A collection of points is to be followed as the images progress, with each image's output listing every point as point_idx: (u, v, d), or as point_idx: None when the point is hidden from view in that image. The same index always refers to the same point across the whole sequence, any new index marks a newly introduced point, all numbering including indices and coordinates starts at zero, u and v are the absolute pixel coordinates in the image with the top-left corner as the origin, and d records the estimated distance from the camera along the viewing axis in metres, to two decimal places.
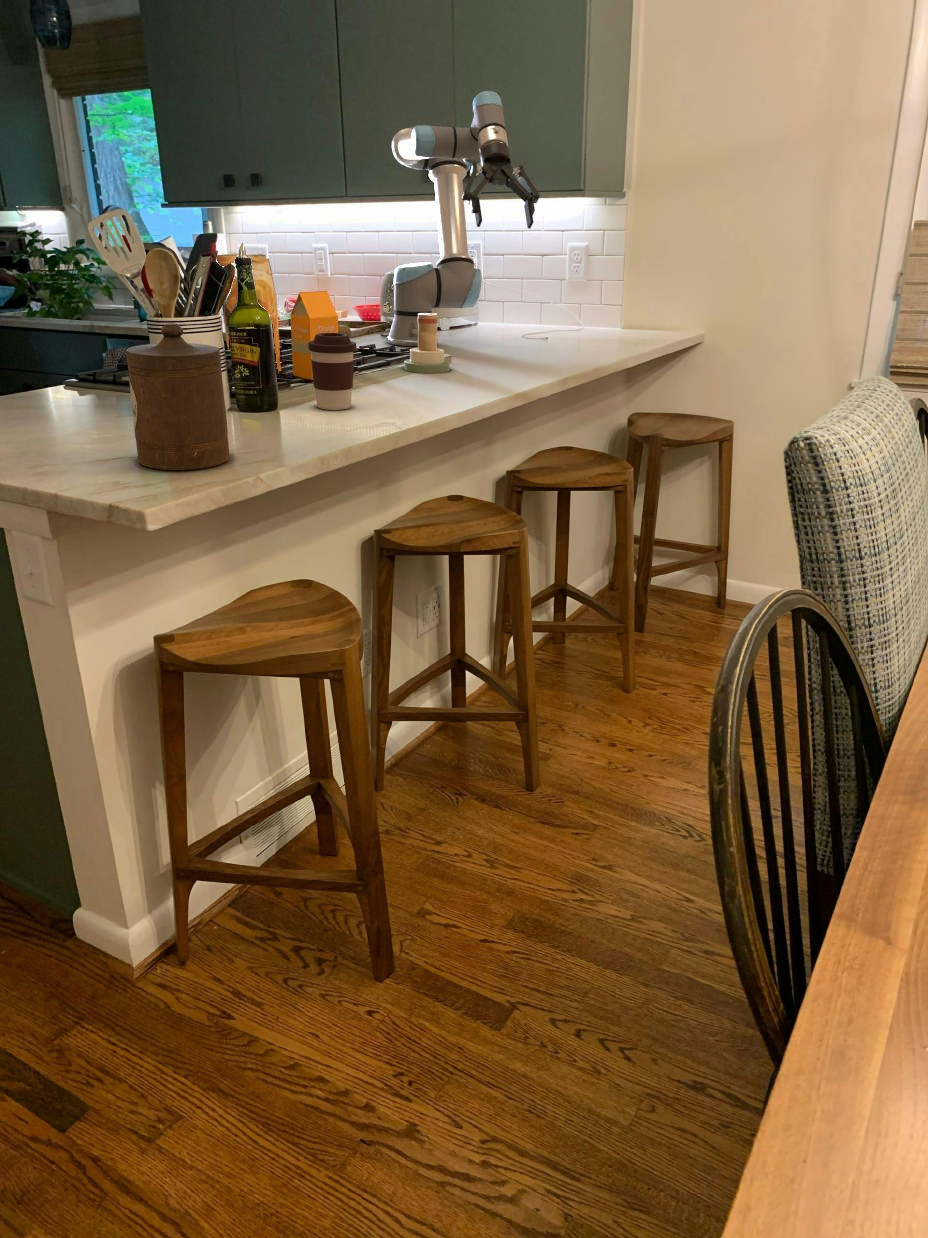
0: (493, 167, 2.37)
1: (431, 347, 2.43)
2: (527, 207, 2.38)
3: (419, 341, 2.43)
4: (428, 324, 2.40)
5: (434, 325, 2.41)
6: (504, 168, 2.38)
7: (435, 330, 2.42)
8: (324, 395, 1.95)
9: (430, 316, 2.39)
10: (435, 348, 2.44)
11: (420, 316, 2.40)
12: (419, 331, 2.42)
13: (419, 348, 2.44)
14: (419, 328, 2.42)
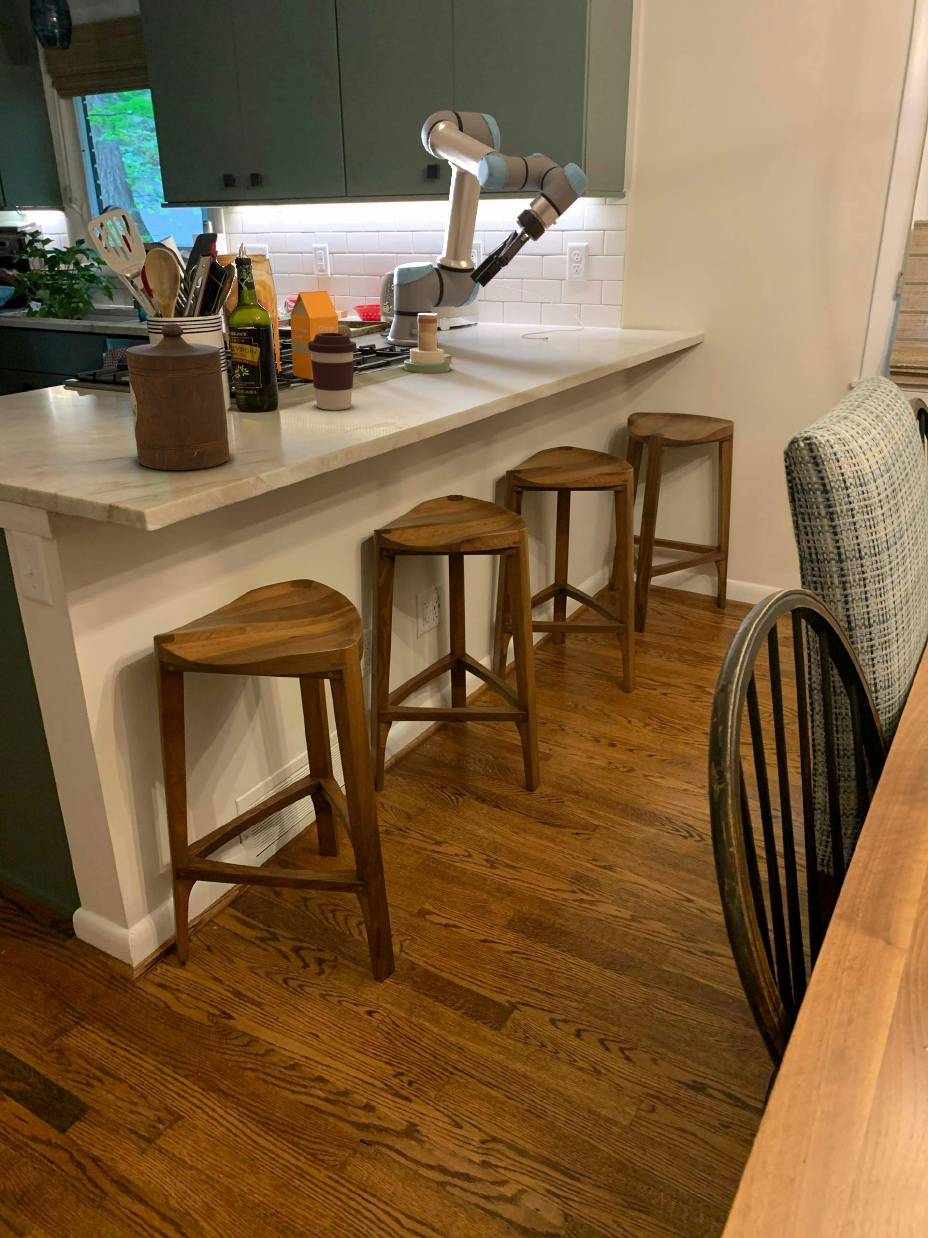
0: (523, 244, 2.36)
1: (431, 347, 2.43)
2: (487, 268, 2.45)
3: (419, 341, 2.43)
4: (428, 324, 2.40)
5: (434, 325, 2.41)
6: None
7: (435, 330, 2.42)
8: (324, 395, 1.95)
9: (430, 316, 2.39)
10: (435, 348, 2.44)
11: (420, 316, 2.40)
12: (419, 331, 2.42)
13: (419, 348, 2.44)
14: (419, 328, 2.42)
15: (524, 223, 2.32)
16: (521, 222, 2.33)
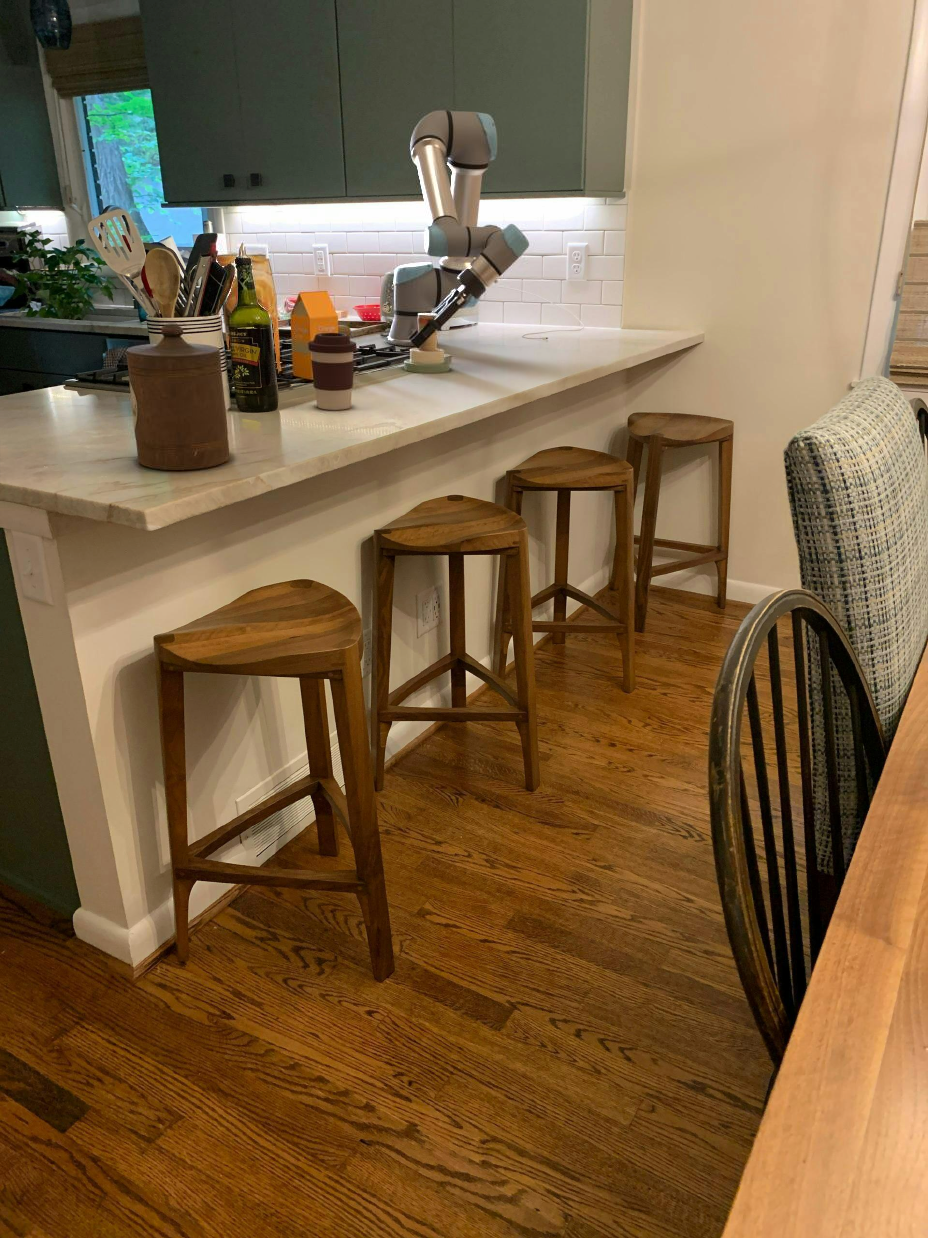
0: None
1: (431, 347, 2.43)
2: None
3: None
4: None
5: None
6: None
7: None
8: (324, 395, 1.95)
9: (430, 316, 2.39)
10: (435, 348, 2.44)
11: (420, 316, 2.40)
12: None
13: (419, 348, 2.44)
14: (419, 328, 2.42)
15: (465, 282, 2.36)
16: (462, 281, 2.37)
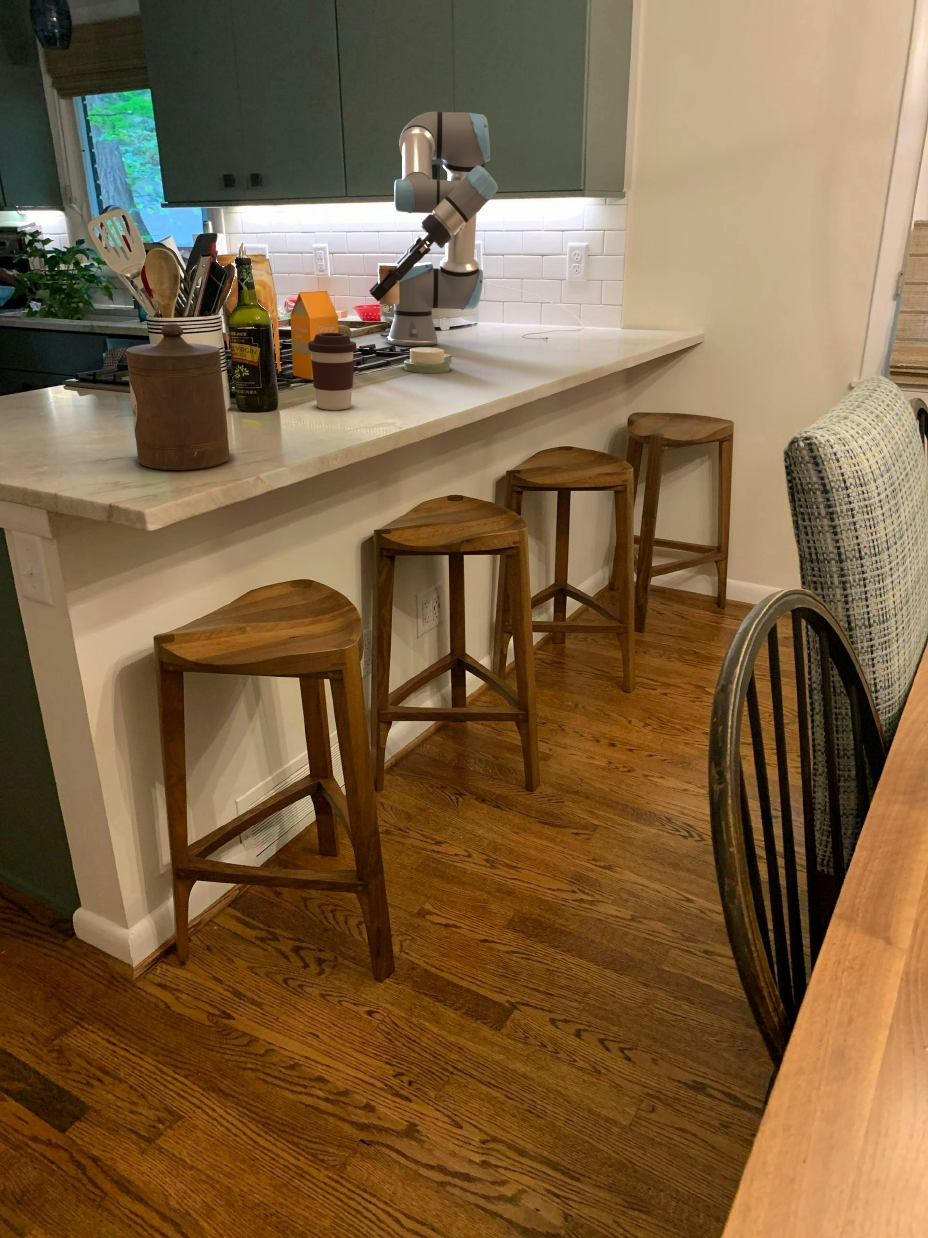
0: (428, 251, 2.22)
1: (393, 300, 2.25)
2: None
3: None
4: None
5: None
6: None
7: (397, 282, 2.24)
8: (324, 395, 1.95)
9: (391, 266, 2.22)
10: (397, 301, 2.26)
11: (380, 266, 2.22)
12: None
13: (380, 301, 2.26)
14: (380, 279, 2.24)
15: (428, 229, 2.19)
16: (425, 228, 2.19)
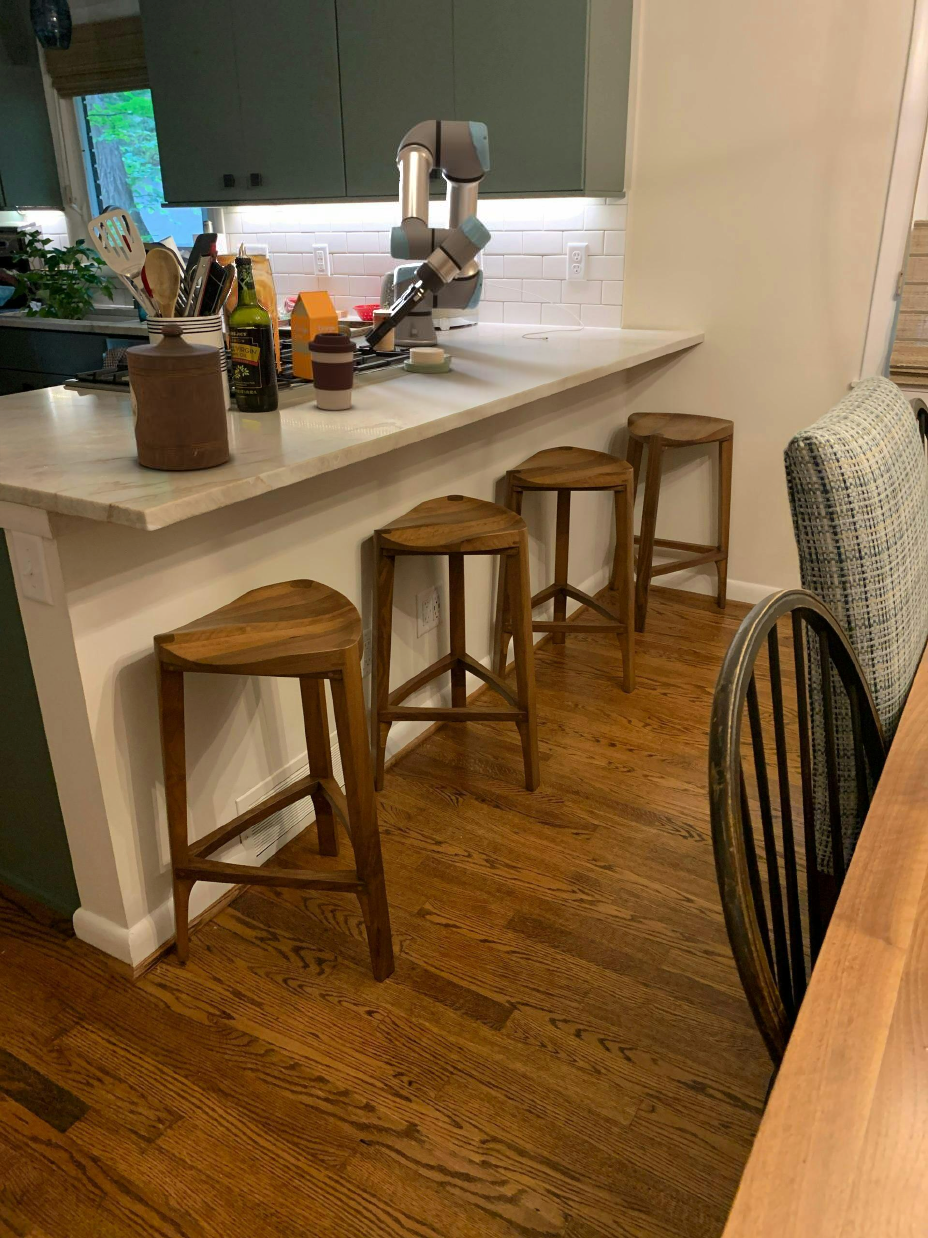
0: None
1: (388, 346, 2.28)
2: None
3: None
4: None
5: None
6: None
7: (392, 328, 2.27)
8: (324, 395, 1.95)
9: (385, 314, 2.24)
10: (392, 347, 2.29)
11: (375, 313, 2.25)
12: None
13: (375, 347, 2.29)
14: (374, 326, 2.27)
15: (422, 277, 2.21)
16: (419, 276, 2.22)
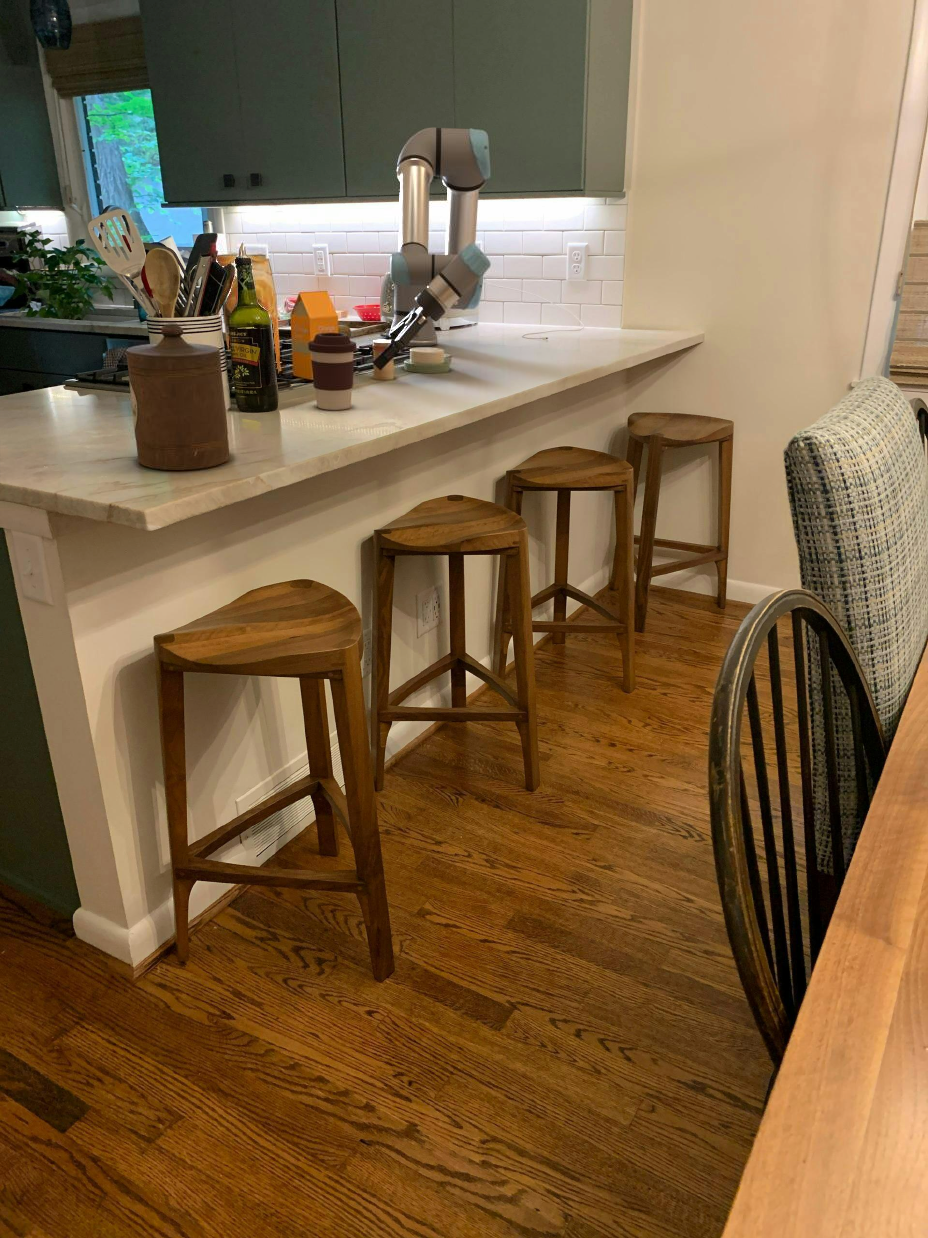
0: None
1: (388, 376, 2.31)
2: None
3: (375, 369, 2.31)
4: None
5: None
6: None
7: None
8: (324, 395, 1.95)
9: (385, 344, 2.27)
10: (392, 377, 2.32)
11: (375, 343, 2.28)
12: None
13: (375, 377, 2.31)
14: (375, 356, 2.29)
15: (422, 305, 2.24)
16: (419, 303, 2.24)
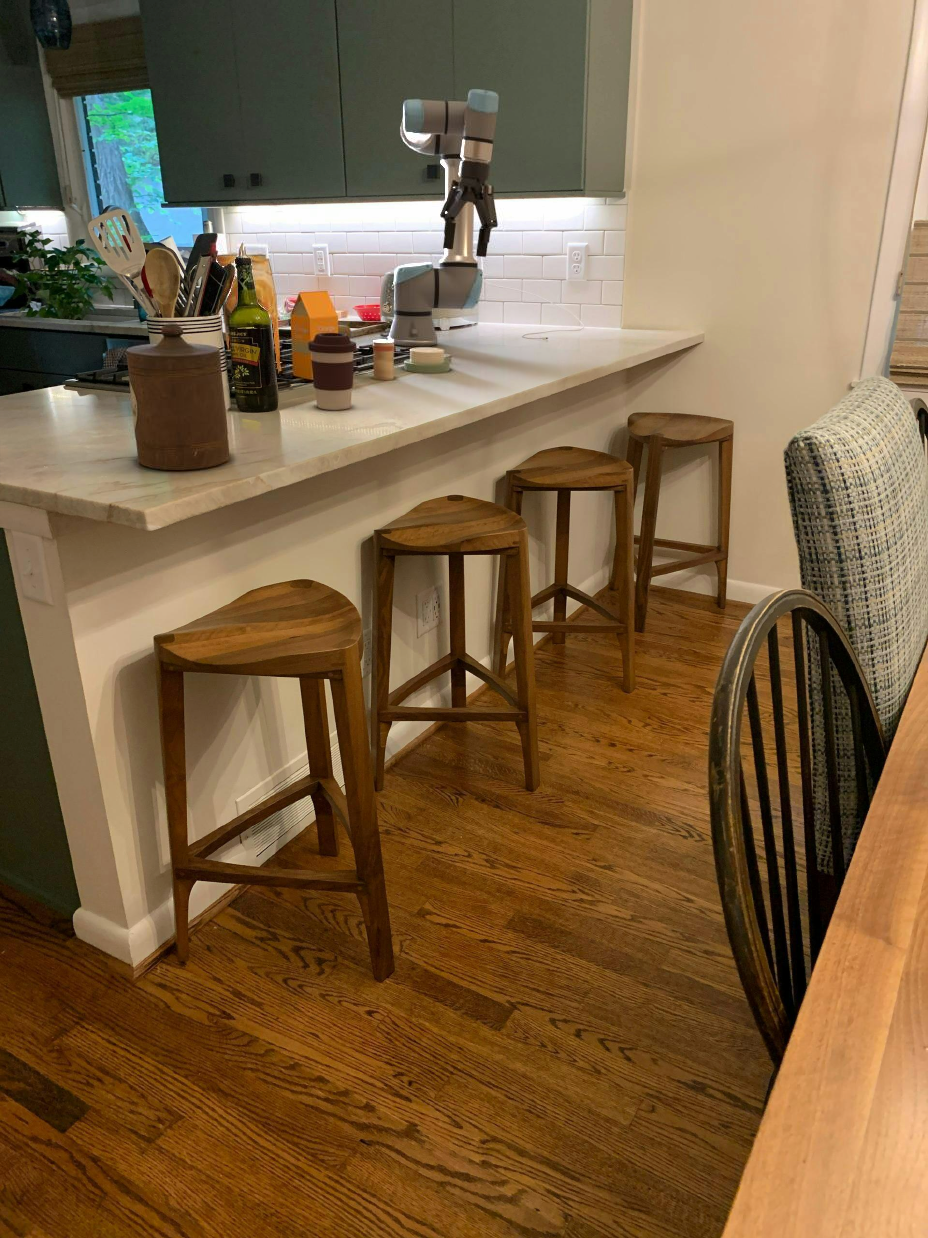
0: None
1: (388, 376, 2.31)
2: (452, 230, 2.42)
3: (375, 369, 2.31)
4: (384, 352, 2.28)
5: (390, 353, 2.29)
6: None
7: (391, 358, 2.30)
8: (324, 395, 1.95)
9: (385, 344, 2.27)
10: (392, 377, 2.32)
11: (375, 343, 2.28)
12: (375, 359, 2.30)
13: (375, 377, 2.31)
14: (375, 356, 2.29)
15: (476, 176, 2.28)
16: (473, 177, 2.29)
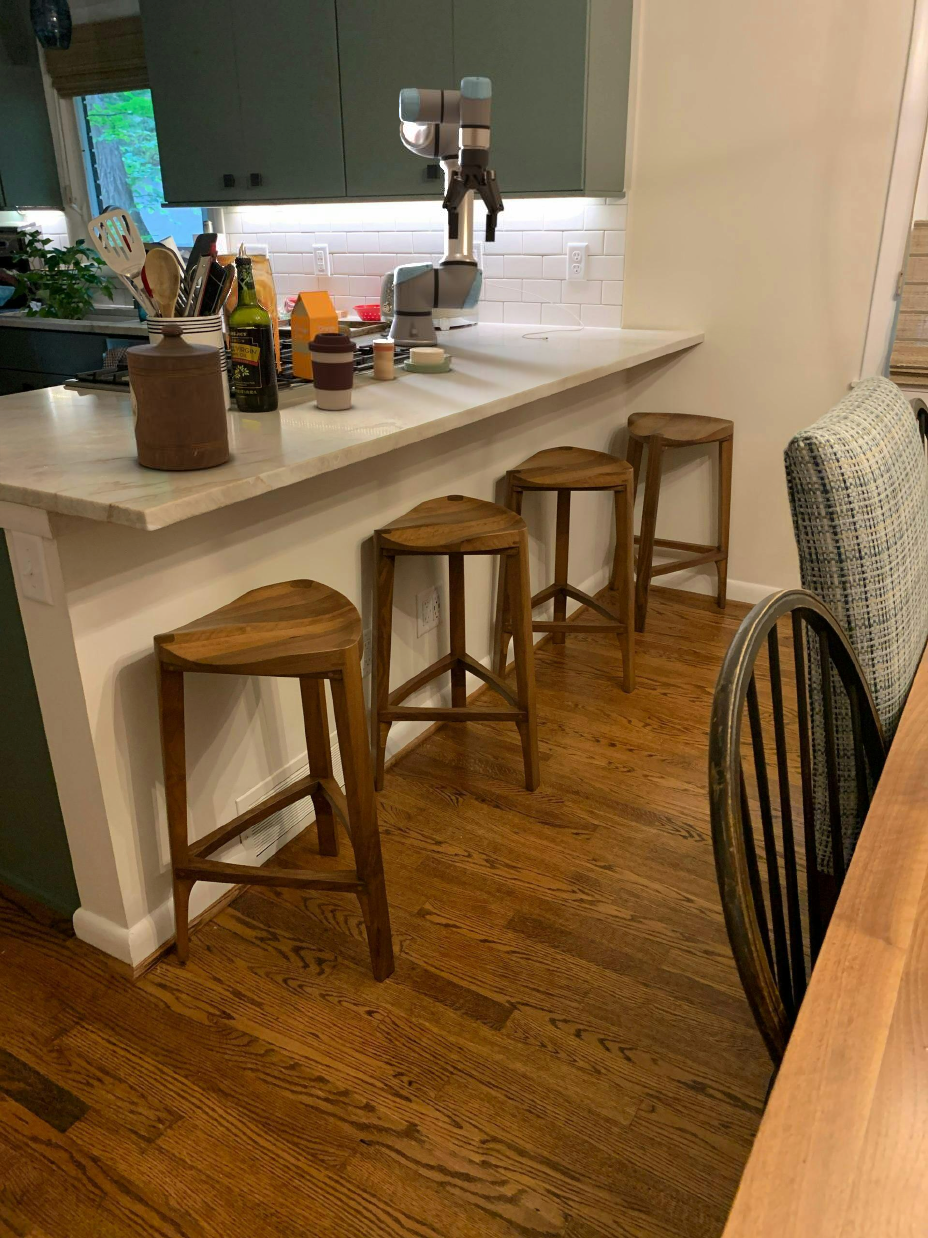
0: None
1: (388, 376, 2.31)
2: (456, 219, 2.44)
3: (375, 369, 2.31)
4: (384, 352, 2.28)
5: (390, 353, 2.29)
6: None
7: (391, 358, 2.30)
8: (324, 395, 1.95)
9: (385, 344, 2.27)
10: (392, 377, 2.32)
11: (375, 343, 2.28)
12: (375, 359, 2.30)
13: (375, 377, 2.31)
14: (375, 356, 2.29)
15: (477, 162, 2.31)
16: (474, 164, 2.31)
